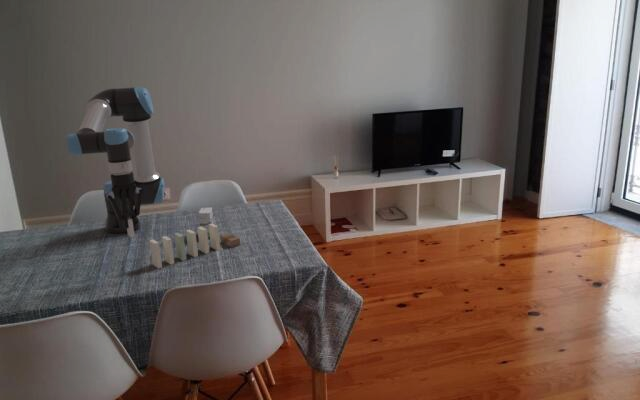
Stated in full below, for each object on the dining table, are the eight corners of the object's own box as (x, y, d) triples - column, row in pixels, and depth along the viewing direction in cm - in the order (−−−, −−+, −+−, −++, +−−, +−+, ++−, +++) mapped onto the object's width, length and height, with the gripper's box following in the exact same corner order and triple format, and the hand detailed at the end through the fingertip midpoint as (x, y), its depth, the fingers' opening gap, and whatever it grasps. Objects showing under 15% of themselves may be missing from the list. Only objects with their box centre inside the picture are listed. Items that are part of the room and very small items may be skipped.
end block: (220, 242, 214) (220, 235, 213) (229, 239, 216) (228, 233, 215) (231, 247, 207) (231, 240, 206) (240, 245, 209) (239, 238, 208)
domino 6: (216, 250, 205) (214, 227, 202) (211, 247, 209) (208, 224, 206) (220, 249, 206) (218, 226, 203) (214, 246, 210) (212, 223, 207)
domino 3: (182, 260, 196) (179, 236, 193) (177, 257, 200) (174, 233, 197) (186, 259, 197) (183, 235, 194) (180, 256, 200) (177, 232, 198)
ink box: (212, 238, 218) (209, 212, 215) (201, 239, 218) (198, 213, 214) (214, 231, 226) (212, 206, 223) (203, 232, 226) (200, 207, 223)
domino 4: (194, 257, 199) (191, 233, 196) (188, 253, 203) (185, 230, 200) (198, 256, 200) (195, 232, 197) (192, 252, 204) (189, 229, 201)
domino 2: (170, 264, 193) (167, 240, 190) (165, 260, 196) (161, 236, 194) (174, 263, 194) (171, 239, 191) (169, 259, 197) (165, 235, 195)
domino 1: (158, 268, 190) (154, 243, 187) (152, 264, 193) (149, 240, 191) (162, 267, 191) (158, 242, 188) (156, 263, 194) (153, 239, 192)
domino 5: (205, 253, 202) (203, 230, 199) (200, 250, 206) (197, 227, 203) (209, 252, 203) (206, 229, 200) (203, 249, 207) (201, 226, 204)
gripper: (106, 177, 169) (116, 243, 176) (143, 171, 177) (152, 233, 184) (99, 174, 175) (109, 237, 182) (136, 168, 183) (144, 229, 190)
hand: (131, 235), depth 183 cm, fingers closed
